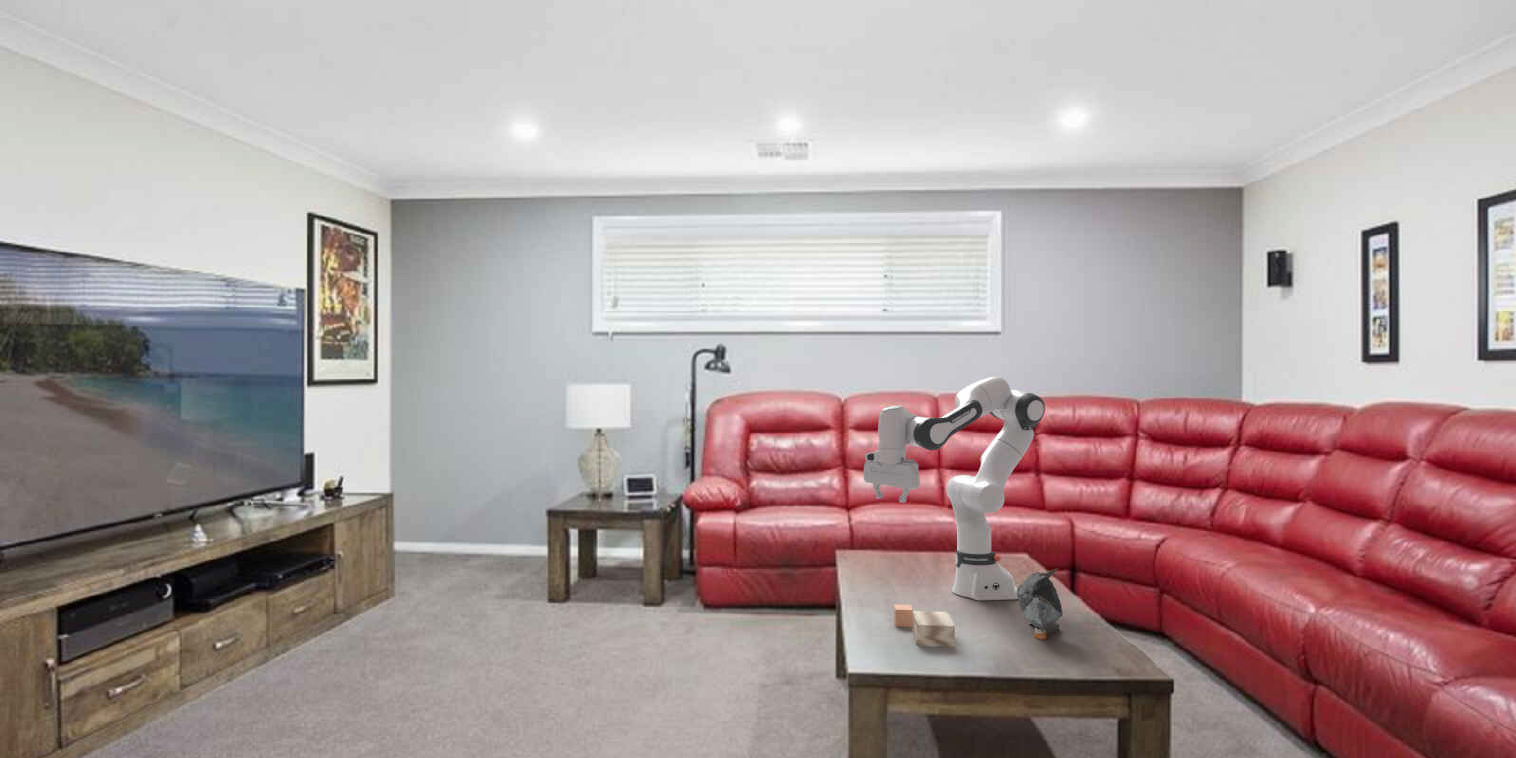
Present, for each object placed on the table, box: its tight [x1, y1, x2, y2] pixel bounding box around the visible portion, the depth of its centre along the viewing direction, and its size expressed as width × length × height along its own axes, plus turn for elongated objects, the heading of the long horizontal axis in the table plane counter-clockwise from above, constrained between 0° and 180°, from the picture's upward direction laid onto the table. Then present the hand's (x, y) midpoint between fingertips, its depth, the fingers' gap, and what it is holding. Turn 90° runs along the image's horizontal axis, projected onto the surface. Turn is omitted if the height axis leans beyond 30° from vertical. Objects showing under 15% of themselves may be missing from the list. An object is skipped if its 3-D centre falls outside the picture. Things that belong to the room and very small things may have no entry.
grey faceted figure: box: [1016, 568, 1063, 640], centre depth 217 cm, size 14×15×18 cm
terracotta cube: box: [893, 604, 914, 628], centre depth 226 cm, size 5×5×5 cm
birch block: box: [912, 610, 956, 648], centre depth 213 cm, size 10×12×6 cm
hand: (890, 500), depth 243 cm, fingers open, 8 cm apart
